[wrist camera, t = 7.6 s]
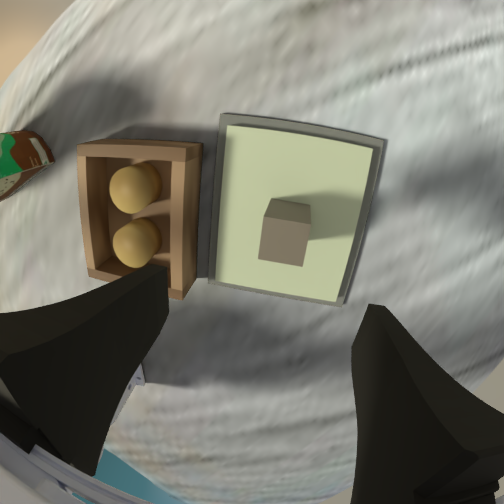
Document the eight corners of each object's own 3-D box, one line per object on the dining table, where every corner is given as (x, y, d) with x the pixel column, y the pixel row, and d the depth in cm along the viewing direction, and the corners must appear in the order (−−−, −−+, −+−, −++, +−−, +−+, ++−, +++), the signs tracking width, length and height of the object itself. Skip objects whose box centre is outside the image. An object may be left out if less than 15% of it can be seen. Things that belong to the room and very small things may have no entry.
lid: (335, 297, 21) (339, 334, 17) (217, 276, 22) (200, 309, 18) (370, 147, 16) (388, 156, 13) (229, 125, 17) (209, 127, 14)
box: (196, 278, 23) (182, 300, 20) (108, 259, 23) (88, 276, 21) (203, 143, 18) (186, 148, 16) (102, 138, 19) (76, 144, 16)
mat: (341, 304, 22) (341, 307, 21) (209, 281, 23) (207, 283, 22) (382, 139, 16) (383, 140, 16) (221, 113, 17) (220, 113, 17)
